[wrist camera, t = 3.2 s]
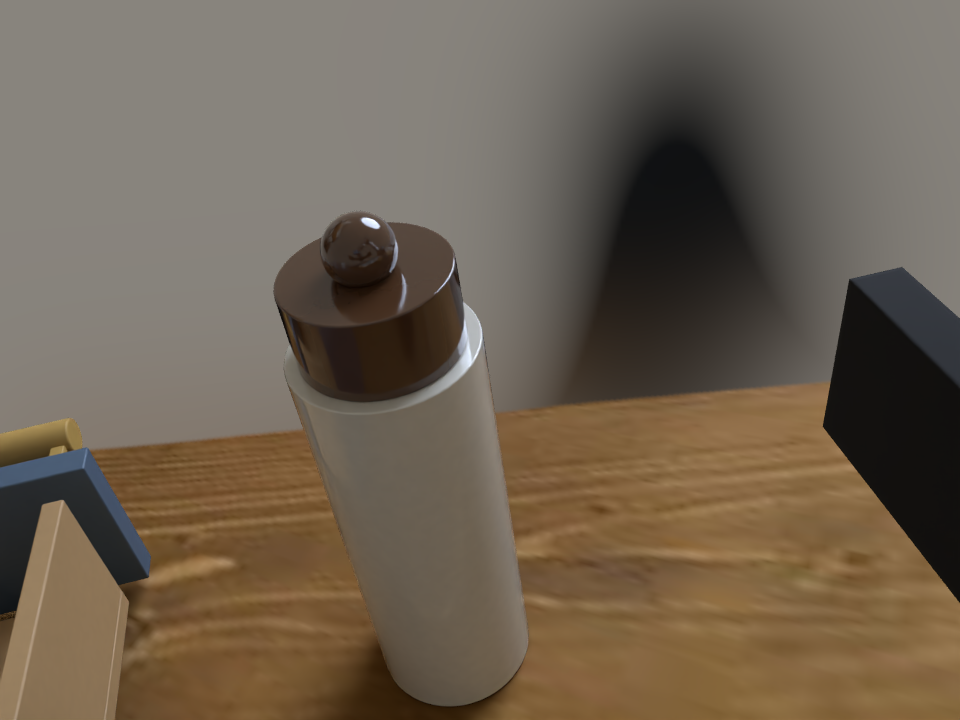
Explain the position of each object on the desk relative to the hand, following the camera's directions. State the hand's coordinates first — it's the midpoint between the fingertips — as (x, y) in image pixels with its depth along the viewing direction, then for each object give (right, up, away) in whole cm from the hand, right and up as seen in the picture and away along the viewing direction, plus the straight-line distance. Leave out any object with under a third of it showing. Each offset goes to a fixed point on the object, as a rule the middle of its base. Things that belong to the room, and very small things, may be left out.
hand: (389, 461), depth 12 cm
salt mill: (0, -9, +22) cm, 24 cm away
